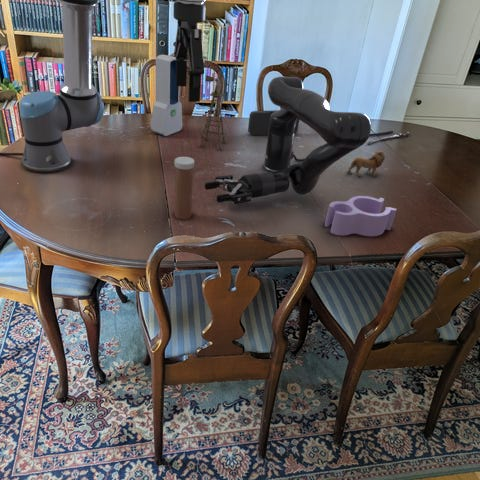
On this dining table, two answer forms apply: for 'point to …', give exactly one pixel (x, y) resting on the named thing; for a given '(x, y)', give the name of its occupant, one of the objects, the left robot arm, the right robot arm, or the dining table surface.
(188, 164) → the lid
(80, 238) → the dining table surface
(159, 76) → the electronic device
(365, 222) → the clip
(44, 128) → the left robot arm
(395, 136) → the sword
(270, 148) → the right robot arm
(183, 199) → the jar
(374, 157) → the lion figurine
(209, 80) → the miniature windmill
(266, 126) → the handheld gaming console
